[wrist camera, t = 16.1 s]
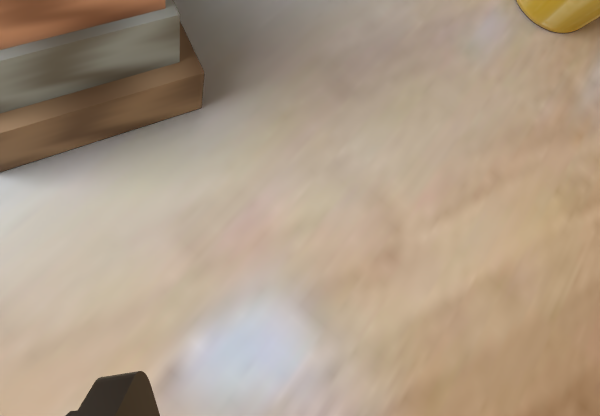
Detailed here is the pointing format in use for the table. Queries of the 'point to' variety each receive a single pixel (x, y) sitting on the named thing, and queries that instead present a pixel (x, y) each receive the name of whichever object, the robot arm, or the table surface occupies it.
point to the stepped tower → (89, 73)
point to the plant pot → (561, 13)
